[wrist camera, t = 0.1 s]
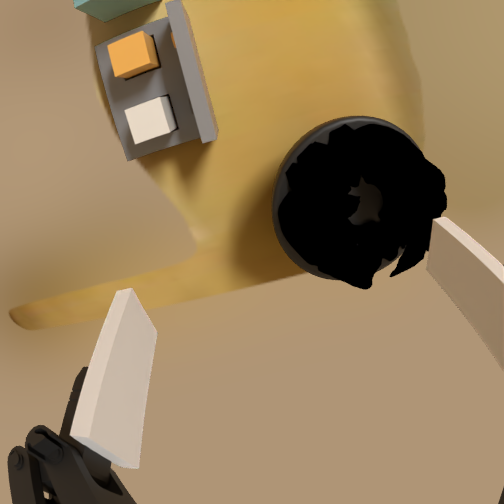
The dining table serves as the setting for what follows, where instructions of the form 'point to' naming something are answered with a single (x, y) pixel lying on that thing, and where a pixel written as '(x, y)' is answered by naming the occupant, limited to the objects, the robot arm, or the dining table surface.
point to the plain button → (151, 119)
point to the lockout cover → (109, 7)
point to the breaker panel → (163, 85)
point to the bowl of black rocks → (356, 200)
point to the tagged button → (133, 55)
